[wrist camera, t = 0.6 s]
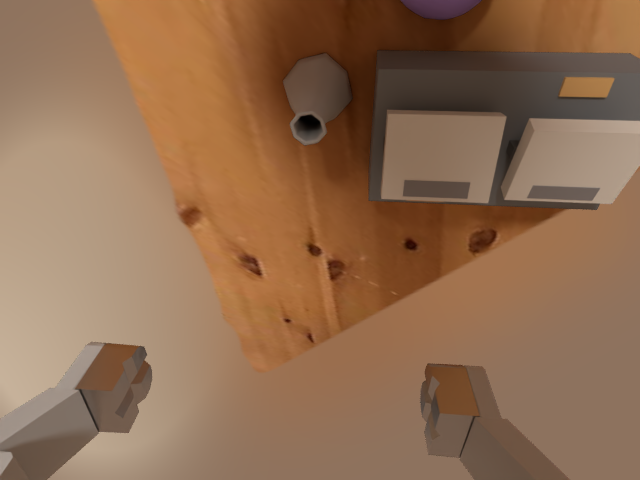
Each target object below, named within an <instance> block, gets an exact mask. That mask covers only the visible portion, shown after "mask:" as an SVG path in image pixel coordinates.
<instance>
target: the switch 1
mask: <svg viewBox="0 0 640 480" xmlns="http://www.w3.org/2000/svg"><path fill="white" fill-rule="evenodd" d="M505 122H506V116H505V115H503V114H502V113H501V112H461V111H418V110H387V119H386V131H385V144H384V156H383V169H382V181H381V199H393V200H418V201H443V202H469V203H488V201H489V197H490V192H491V187H492V183H493V178H494V173H495V169H496V164H497V159H498V155H499V150H500V145H501V141H502V136H503V131H504V126H505Z"/></svg>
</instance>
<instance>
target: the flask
mask: <svg viewBox="0 0 640 480" xmlns="http://www.w3.org/2000/svg"><path fill="white" fill-rule="evenodd" d="M283 84H284V88H285V91H286V94H287V97H288V101H289V104H290V107H291V109H292V110H293V112H294V113H295V114H296V116H295V117H294V118H293V120H292V121H291V122H290V127H291V130H292V133H293V137H294V138H295V139H297V140H298V141H299V142H301V143H302V144H303V145H310V144H315V143H318V142H319V141H320V140H321V139H322V138H323V137H324V136H325V135H326V133H327V130H326V126H325V123H327V122H328V121H331V120H333V119H335V118H336V117H337V116H338V115H339V114H340V112H341V111H342V110H343V109H344V108H345V107H346V106H347V105H348V103H349V102H350V101H351V100H352V99H353V97H352V93H351V88H350V83H349V78H348V73H347V71H346V70H345V69H343V68H342V67H341V66H340V65H339V64H338V63H337V62H335V61H334V60H333V59H332V58H331V57H330V56H329V55H328V54H326V53H324V54H320V55H316V56H312V57H307V58H303V59H299V60H298V61H297V63H296V64H295V65H294V67H293V68H292V69H291V71H290V72H289V73H288V75H287V76H286V77H285V79H284V80H283Z"/></svg>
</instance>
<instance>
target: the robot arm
mask: <svg viewBox="0 0 640 480" xmlns="http://www.w3.org/2000/svg"><path fill="white" fill-rule="evenodd" d="M146 356H147V353H146V350H145V348H144V347H142V346H134V345H123V344H111V343H98V342H90V343H89V344H87V345H86V346H85V347H84V349H83V350H82V351H81V353H80V354H79V355H78V357H77V358H76V360H75V361H74V362H73V364H72V365H71V367H70V368H69V369H68V371H67V372H66V373H65V375H64V376H63V378H62V379H61V380H60V382H59V383H58V385H57V386H56V387H55V388H49V389H48V390H46V391H44V392H42V393H41V394H39V395H38V396H36V397H34V398H33V399H31V400H30V401H28V402H26V403H25V404H23V405H21V406H20V407H18V408H17V409H15V410H13V411H12V412H10V413H8V414H7V415H5V416H4V417H2V418H0V480H47V479H48V478H49V477H50V476H51V475H52V474H54V473H55V472H56V471H57V470H58V469H59V468H60V467H62V465H64V464H65V463H66V462H67V461H68V460H69V459H71V458H72V456H74V455H75V454H76V453H77V452H78V451H80V450H81V449H82V448H83V447H84V446H85V445H86V444H87V443H88V442H90V441H91V440H92V439H93V438H94V437H95V436H96V435H97V434H98V432H117V433H129V431H130V429H131V427H132V425H133V423H134V421H135V419H136V417H137V415H138V413H139V410H138V407H137V404H138V403H140V402H141V401H142V400H143V399H145V398H146V396H147V394H148V392H149V390H150V386H151V381H152V370H151V366H150V365H149V364H148V363H147V362H146V361H145V360H144V359H145V358H146ZM425 377H426V381H424V382H423V383H422V388H421V398H420V403H421V413H422V417H423V418H424V420H425V421H426V422H427V424H426V427H425V438H426V444H427V449H428V455H436V456H446V457H456V458H460V461H461V462H462V463H463V465H464V466H465V467H466V469H467V470H468V472H469V473H470V474H471V475H472V477H473V478H474V480H570V479H569V478H568V477H567V476H566V475H565V474H564V473H563V472H562V471H561V470H560V469H559V468H558V467H556V466H555V465H554V464H553V463H552V462H551V461H550V460H549V459H548V458H547V457H546V456H545V455H544V454H543V453H542V452H541V451H540V450H539V449H538V448H537V447H536V446H535V445H534V444H532V442H530V441H529V440H528V439H527V438H526V437H525V436H524V435H523V434H522V433H521V432H520V431H519V430H518V429H517V428H516V427H515V426H514V425H513V424H512V423H511V422H510V421H509V420H508V419H502V418H501V415H500V412H499V409H498V406H497V403H496V400H495V397H494V395H493V392H492V389H491V386H490V383H489V380H488V377H487V374H486V371H485V369H484V368H483V367H479V366H462V365H448V364H427V366H426V369H425Z"/></svg>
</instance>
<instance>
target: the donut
mask: <svg viewBox="0 0 640 480" xmlns="http://www.w3.org/2000/svg"><path fill="white" fill-rule="evenodd" d="M401 1H402V3H403V4H404V5H405V6H406V7H407V8H408V9H410V10H411V11H413V12H414V13H416V14H418V15H420V16H422V17H424V18H430V19H438V20H445V19H451V18H454V17H457V16H460V15H463V14H464V13H466V12H468V11H469V10H471V9H472V8H473V7H475V6H476V5H477V4H478V3H480V2H481V1H482V0H401Z"/></svg>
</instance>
